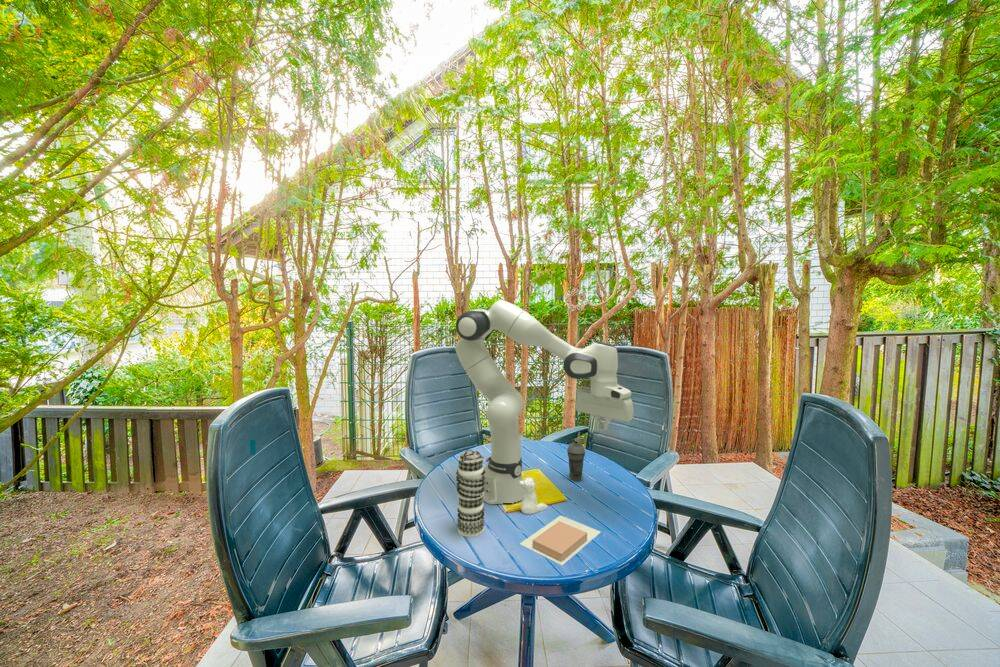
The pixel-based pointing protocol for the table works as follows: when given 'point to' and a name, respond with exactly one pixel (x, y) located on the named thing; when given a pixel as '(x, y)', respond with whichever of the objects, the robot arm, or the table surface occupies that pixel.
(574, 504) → the table surface
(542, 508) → the seated beast figurine
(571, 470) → the beverage cup
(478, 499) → the stacked ring tower
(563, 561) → the mat
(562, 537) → the tile
